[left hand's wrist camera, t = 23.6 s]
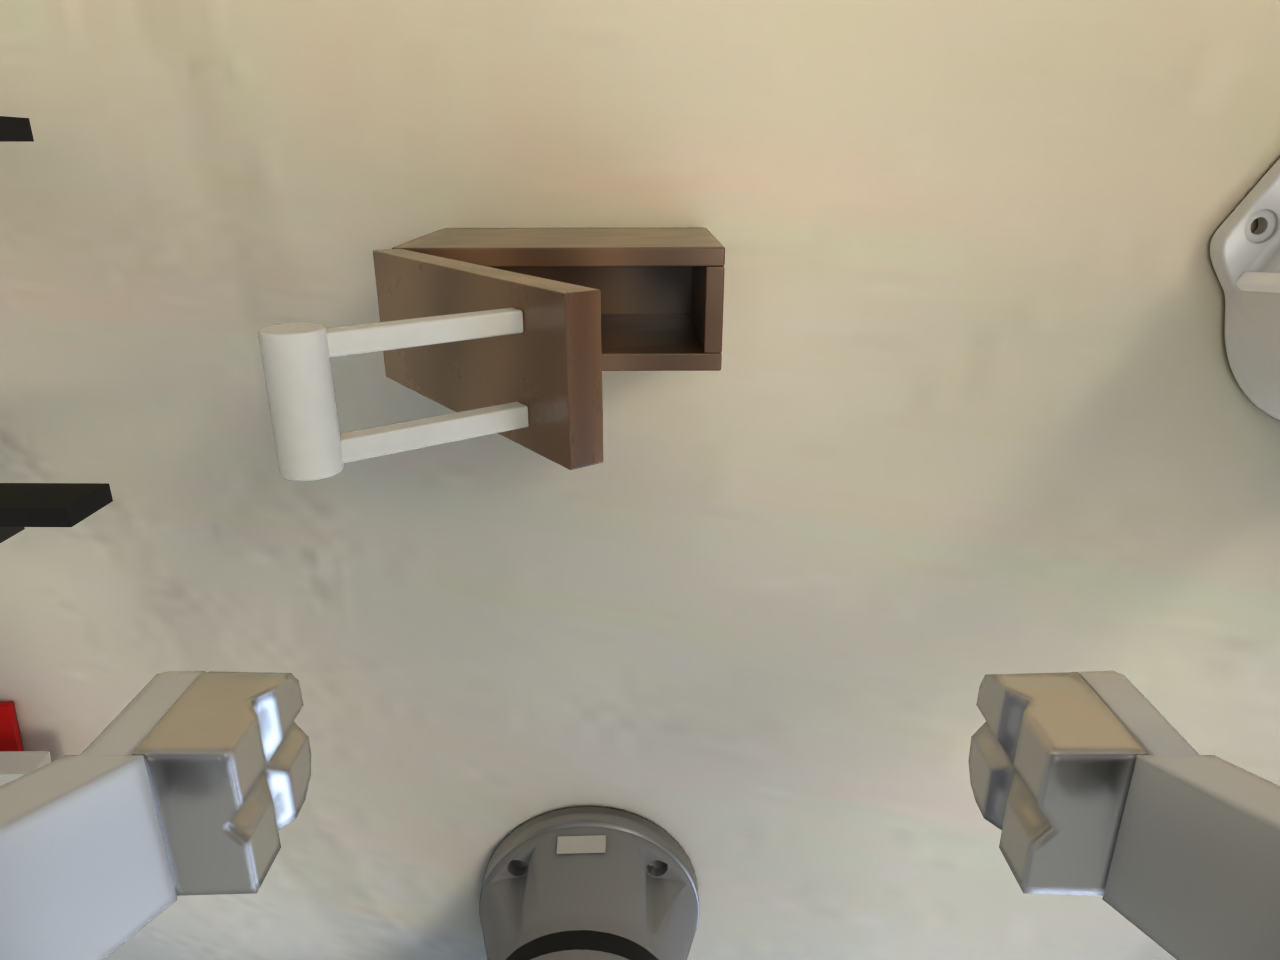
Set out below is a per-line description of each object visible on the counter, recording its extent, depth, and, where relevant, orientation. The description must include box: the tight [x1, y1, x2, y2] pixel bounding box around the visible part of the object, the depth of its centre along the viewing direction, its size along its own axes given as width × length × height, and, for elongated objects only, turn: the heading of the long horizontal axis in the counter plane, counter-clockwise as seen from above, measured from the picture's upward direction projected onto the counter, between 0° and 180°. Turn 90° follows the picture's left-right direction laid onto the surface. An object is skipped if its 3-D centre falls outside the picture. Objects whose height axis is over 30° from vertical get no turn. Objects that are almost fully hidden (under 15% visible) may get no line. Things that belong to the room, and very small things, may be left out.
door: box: [258, 249, 603, 481], centre depth 29 cm, size 15×5×9 cm
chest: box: [392, 228, 725, 371], centre depth 42 cm, size 14×5×11 cm, turn 90°
